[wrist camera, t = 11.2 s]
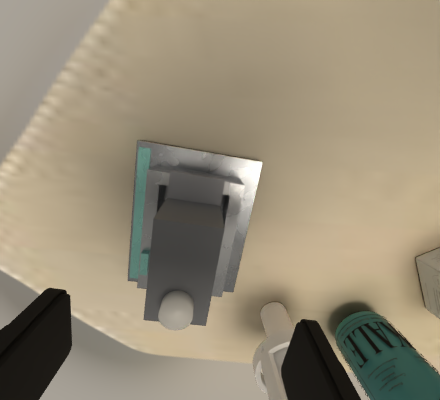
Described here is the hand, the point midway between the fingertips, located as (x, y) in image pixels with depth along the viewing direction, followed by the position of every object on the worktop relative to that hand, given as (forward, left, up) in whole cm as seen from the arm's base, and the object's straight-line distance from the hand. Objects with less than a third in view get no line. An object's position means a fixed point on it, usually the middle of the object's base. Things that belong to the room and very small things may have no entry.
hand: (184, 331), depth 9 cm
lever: (+1, -1, -12) cm, 12 cm away
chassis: (+1, -1, -13) cm, 13 cm away
